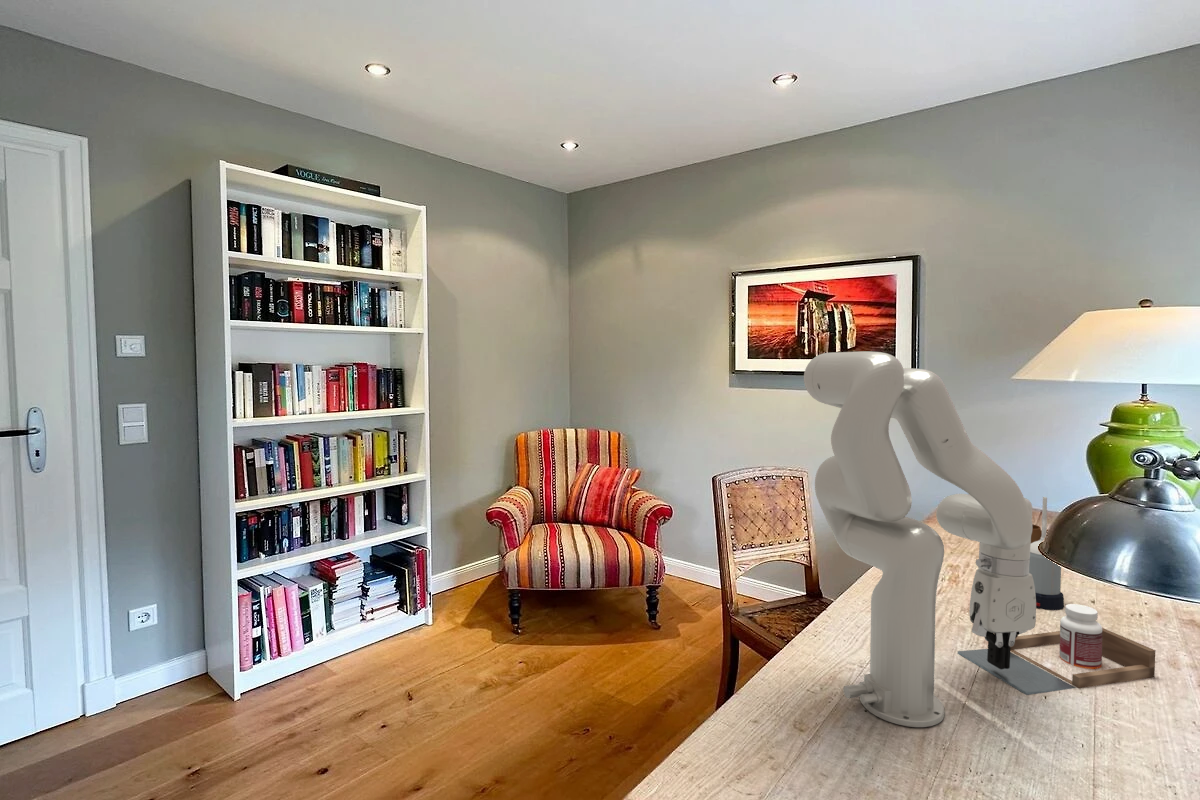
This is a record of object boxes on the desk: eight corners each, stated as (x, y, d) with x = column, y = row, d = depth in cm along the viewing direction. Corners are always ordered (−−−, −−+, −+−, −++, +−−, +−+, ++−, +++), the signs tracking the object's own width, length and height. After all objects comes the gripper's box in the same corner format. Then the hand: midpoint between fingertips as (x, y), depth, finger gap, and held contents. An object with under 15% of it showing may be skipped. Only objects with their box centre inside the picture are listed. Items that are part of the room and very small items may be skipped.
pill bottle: (1106, 668, 113) (1109, 610, 112) (1093, 679, 110) (1095, 618, 109) (1066, 655, 118) (1068, 599, 118) (1053, 664, 115) (1054, 607, 114)
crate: (1078, 694, 105) (1079, 660, 104) (1002, 652, 120) (1003, 622, 119) (1154, 683, 108) (1155, 650, 107) (1070, 644, 123) (1071, 614, 122)
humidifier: (1025, 607, 141) (1029, 499, 139) (1016, 594, 149) (1019, 492, 147) (1069, 612, 138) (1072, 502, 136) (1057, 599, 146) (1060, 494, 144)
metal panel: (1075, 694, 105) (1026, 699, 103) (1001, 653, 119) (957, 657, 117) (1076, 687, 105) (1026, 692, 103) (1002, 647, 119) (957, 651, 117)
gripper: (984, 573, 104) (979, 679, 105) (1058, 569, 107) (1052, 672, 108) (950, 559, 111) (946, 658, 112) (1020, 556, 114) (1015, 652, 115)
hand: (998, 665), depth 110 cm, fingers closed
